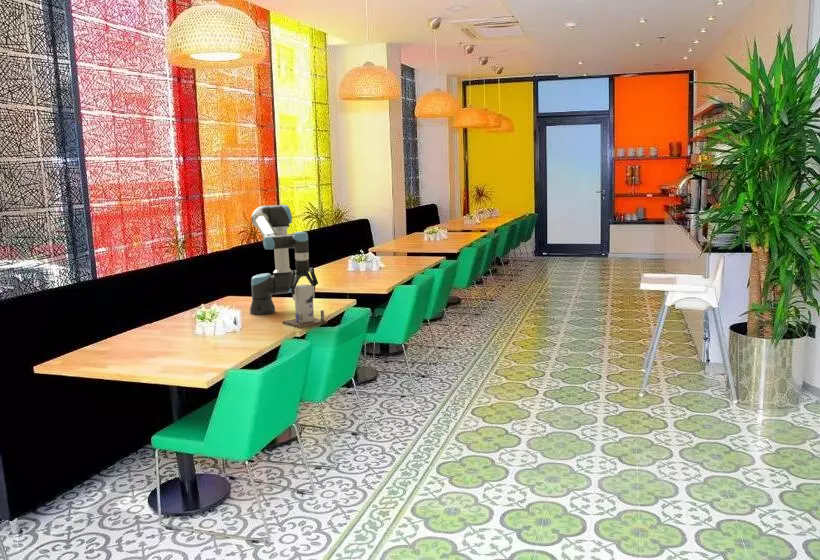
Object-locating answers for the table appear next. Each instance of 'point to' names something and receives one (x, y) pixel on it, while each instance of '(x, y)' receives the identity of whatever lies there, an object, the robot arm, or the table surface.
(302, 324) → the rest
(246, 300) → the table surface
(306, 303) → the container
